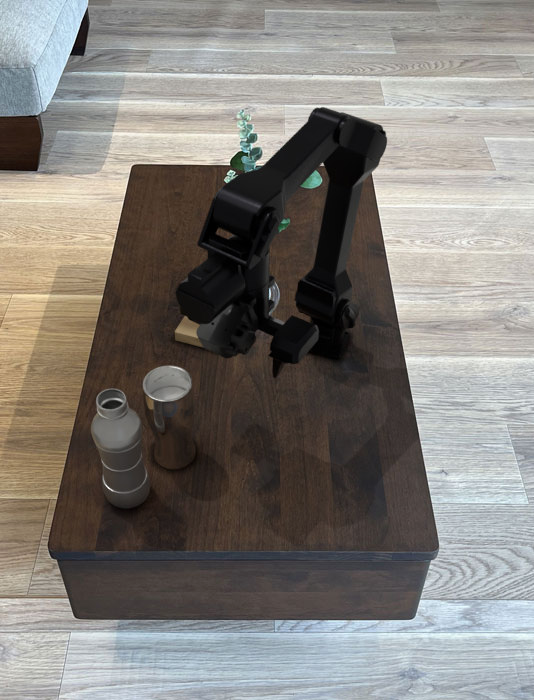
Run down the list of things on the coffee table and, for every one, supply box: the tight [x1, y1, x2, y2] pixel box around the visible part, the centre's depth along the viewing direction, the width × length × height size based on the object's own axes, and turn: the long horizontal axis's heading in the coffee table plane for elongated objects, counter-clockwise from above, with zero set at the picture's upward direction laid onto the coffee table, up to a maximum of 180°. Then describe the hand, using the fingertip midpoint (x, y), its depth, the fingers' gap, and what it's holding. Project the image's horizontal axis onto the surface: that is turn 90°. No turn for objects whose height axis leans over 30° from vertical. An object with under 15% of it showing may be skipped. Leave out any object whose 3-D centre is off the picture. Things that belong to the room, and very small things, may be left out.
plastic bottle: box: [90, 388, 152, 510], centre depth 104 cm, size 6×7×20 cm
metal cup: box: [142, 365, 196, 470], centre depth 111 cm, size 7×7×15 cm
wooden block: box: [174, 315, 205, 349], centre depth 134 cm, size 6×8×2 cm
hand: (248, 362), depth 111 cm, fingers open, 9 cm apart
